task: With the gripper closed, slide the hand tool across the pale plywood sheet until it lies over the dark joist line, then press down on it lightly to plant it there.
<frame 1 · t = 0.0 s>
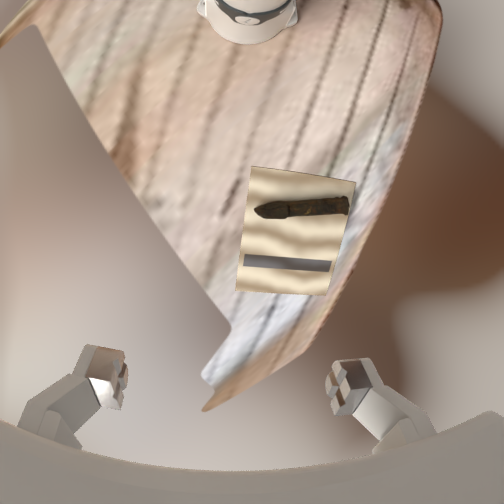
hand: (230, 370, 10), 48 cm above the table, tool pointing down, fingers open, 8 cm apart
hand tool: (300, 207, 58), resting on sheet
sheet: (294, 238, 61), on the table
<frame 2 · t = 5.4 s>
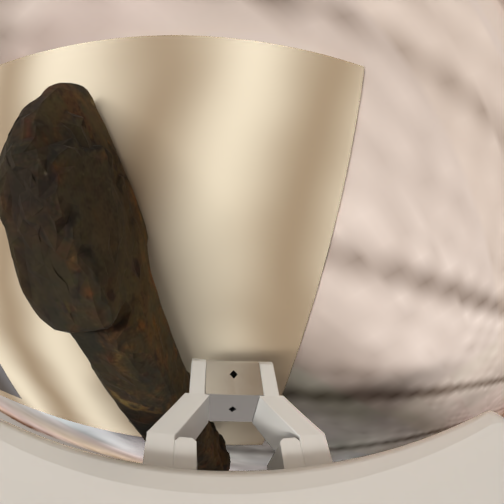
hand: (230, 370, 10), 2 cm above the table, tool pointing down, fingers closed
hand tool: (138, 324, 12), resting on sheet, touching gripper
sheet: (16, 302, 10), on the table
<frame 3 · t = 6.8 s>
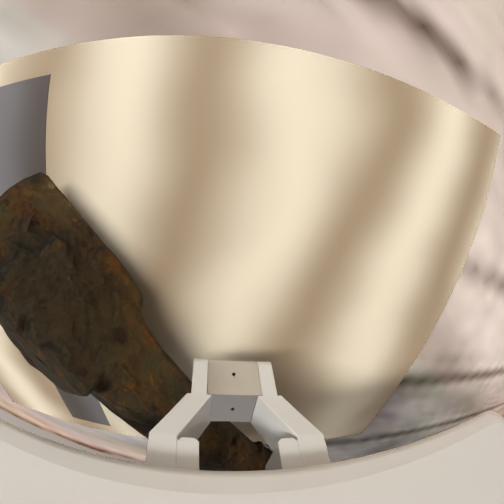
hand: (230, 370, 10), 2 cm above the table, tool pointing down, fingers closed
hand tool: (169, 361, 12), resting on sheet, touching gripper
sheet: (161, 327, 12), on the table
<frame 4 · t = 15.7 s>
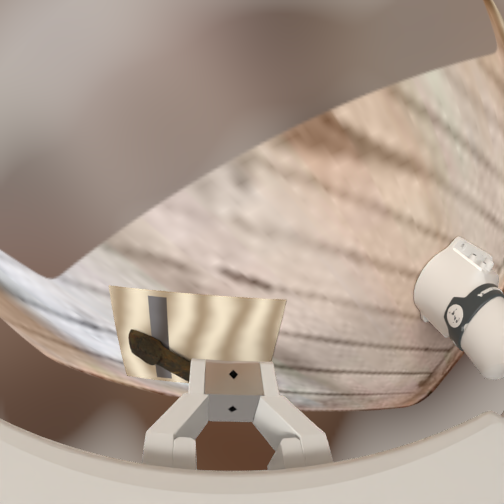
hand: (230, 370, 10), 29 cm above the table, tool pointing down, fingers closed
hand tool: (174, 356, 49), resting on sheet
sheet: (194, 345, 48), on the table
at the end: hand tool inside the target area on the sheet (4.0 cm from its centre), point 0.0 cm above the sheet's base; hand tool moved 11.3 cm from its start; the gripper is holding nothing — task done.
